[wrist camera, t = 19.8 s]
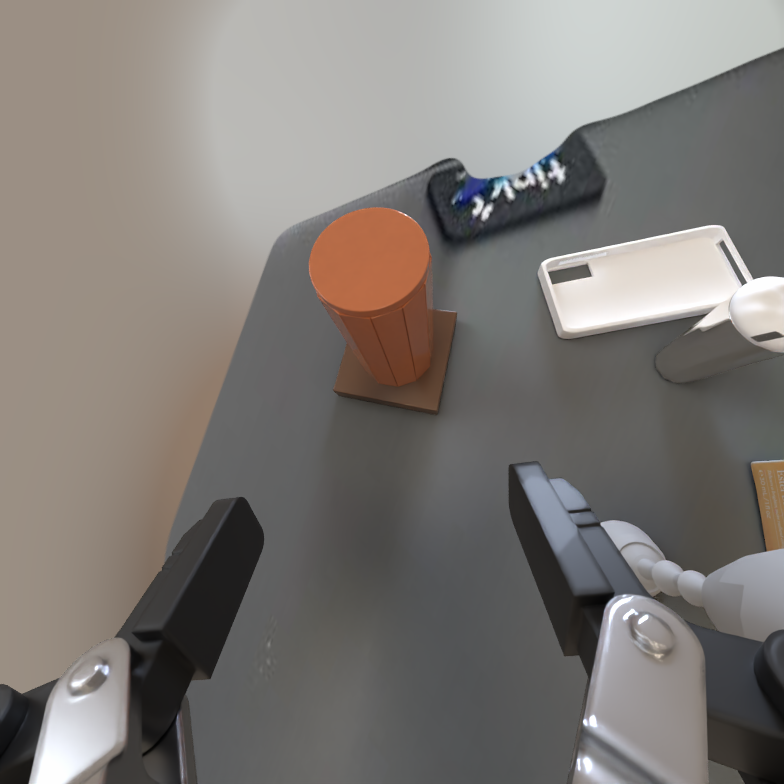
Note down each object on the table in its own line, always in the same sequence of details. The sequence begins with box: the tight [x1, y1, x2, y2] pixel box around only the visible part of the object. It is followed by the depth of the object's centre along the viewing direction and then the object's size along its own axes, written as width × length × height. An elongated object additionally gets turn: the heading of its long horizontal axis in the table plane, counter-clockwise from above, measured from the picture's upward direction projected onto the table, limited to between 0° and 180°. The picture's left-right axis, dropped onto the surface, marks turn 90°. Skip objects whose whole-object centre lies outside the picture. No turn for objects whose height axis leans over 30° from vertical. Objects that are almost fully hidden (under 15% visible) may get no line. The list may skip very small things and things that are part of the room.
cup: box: [309, 207, 434, 387], centre depth 22 cm, size 6×6×12 cm
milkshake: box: [655, 277, 784, 384], centre depth 21 cm, size 5×5×10 cm
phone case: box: [537, 225, 753, 339], centre depth 27 cm, size 7×1×15 cm
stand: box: [333, 309, 457, 415], centre depth 24 cm, size 9×9×12 cm
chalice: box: [600, 520, 784, 642], centre depth 14 cm, size 7×7×18 cm
